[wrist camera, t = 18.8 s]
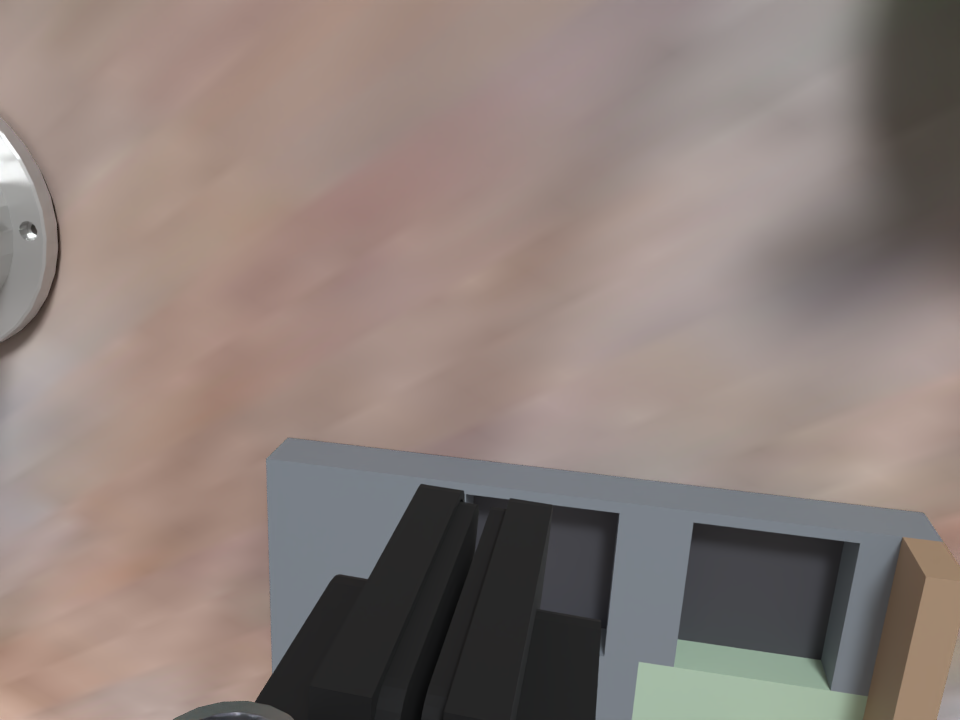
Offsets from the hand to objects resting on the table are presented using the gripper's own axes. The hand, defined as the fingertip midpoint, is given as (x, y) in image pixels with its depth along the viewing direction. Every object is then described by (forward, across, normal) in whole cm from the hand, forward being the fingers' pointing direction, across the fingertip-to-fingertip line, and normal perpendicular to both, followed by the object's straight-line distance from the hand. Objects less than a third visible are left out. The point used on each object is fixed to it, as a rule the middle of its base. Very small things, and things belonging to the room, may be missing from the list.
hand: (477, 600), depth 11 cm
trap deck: (+26, -2, +18) cm, 32 cm away
